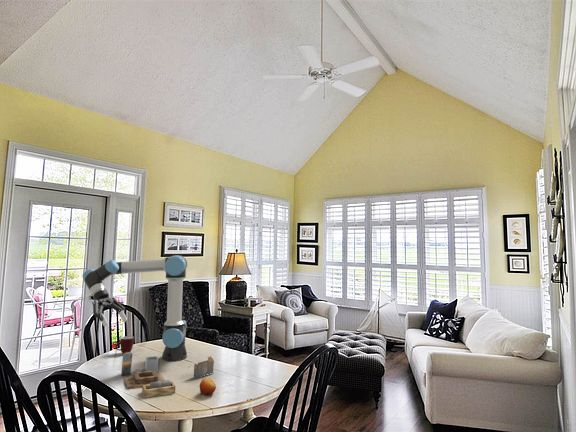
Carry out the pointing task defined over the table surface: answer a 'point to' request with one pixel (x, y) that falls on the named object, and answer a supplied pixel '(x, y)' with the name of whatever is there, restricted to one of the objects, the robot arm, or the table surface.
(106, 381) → the table surface
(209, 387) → the fruit
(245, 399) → the table surface
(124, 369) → the cell
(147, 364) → the cup
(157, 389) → the trough
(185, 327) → the robot arm
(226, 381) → the table surface
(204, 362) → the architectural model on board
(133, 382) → the cradle
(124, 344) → the mug
